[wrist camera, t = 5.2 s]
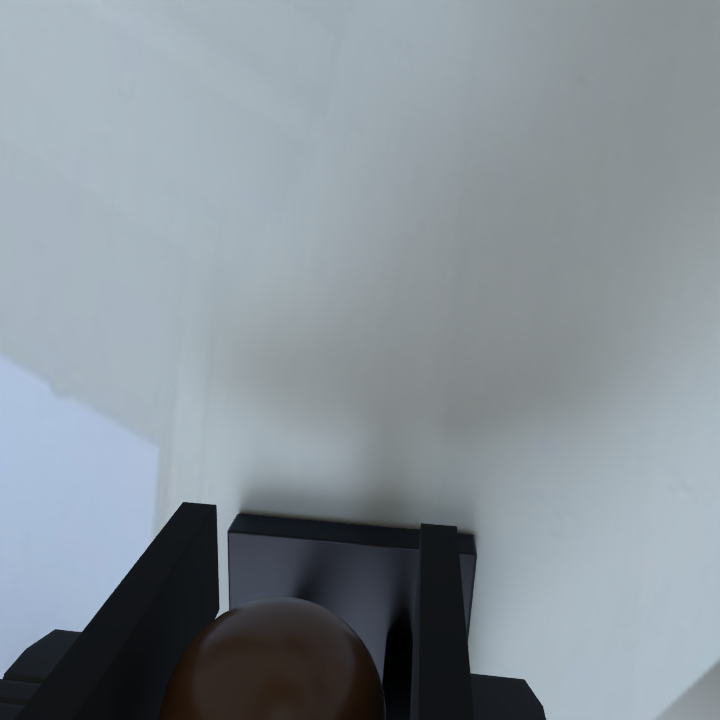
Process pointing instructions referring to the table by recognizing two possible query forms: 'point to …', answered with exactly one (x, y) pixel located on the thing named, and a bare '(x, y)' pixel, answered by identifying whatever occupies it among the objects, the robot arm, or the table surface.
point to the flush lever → (275, 667)
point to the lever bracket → (344, 583)
